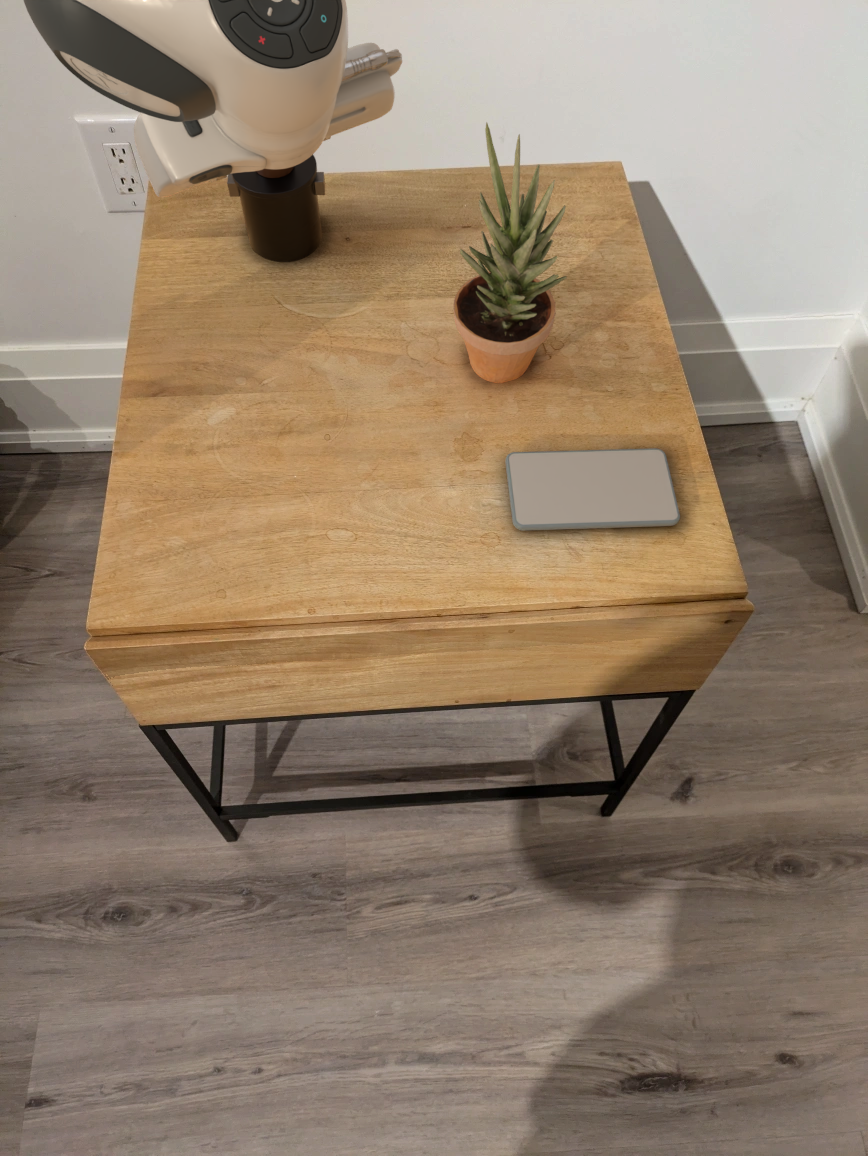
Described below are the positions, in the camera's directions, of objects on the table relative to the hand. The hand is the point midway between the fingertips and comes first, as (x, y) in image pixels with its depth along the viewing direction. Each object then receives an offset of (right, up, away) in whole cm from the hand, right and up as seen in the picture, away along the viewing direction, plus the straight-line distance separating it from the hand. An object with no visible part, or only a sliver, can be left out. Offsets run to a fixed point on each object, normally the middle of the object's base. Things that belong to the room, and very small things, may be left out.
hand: (267, 151), depth 72 cm
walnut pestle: (-2, +5, +13) cm, 14 cm away
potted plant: (+21, -15, +13) cm, 29 cm away
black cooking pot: (-2, +1, +21) cm, 21 cm away
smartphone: (+28, -29, +5) cm, 41 cm away
